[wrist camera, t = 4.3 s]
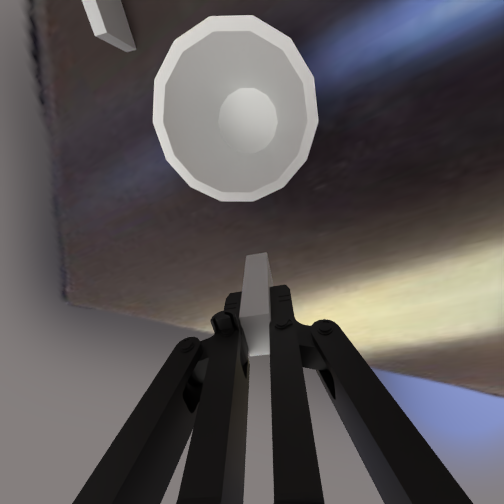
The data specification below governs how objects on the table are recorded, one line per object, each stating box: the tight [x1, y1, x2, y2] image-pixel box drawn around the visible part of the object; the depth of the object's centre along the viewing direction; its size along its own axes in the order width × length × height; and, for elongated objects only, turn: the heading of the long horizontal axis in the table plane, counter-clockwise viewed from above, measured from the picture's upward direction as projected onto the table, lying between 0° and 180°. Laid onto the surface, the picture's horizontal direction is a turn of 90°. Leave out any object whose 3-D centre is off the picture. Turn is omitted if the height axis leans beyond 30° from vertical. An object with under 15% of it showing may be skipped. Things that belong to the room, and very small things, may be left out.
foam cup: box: [153, 15, 319, 202], centre depth 20 cm, size 10×9×13 cm
